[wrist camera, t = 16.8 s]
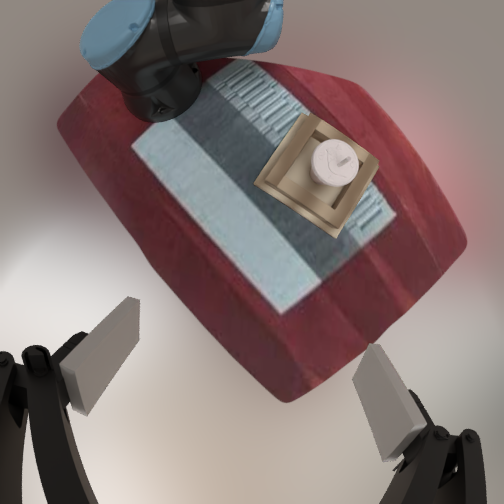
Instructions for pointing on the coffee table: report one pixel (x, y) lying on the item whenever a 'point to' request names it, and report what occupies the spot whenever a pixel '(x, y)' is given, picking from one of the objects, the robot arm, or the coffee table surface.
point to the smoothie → (333, 163)
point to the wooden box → (299, 180)
